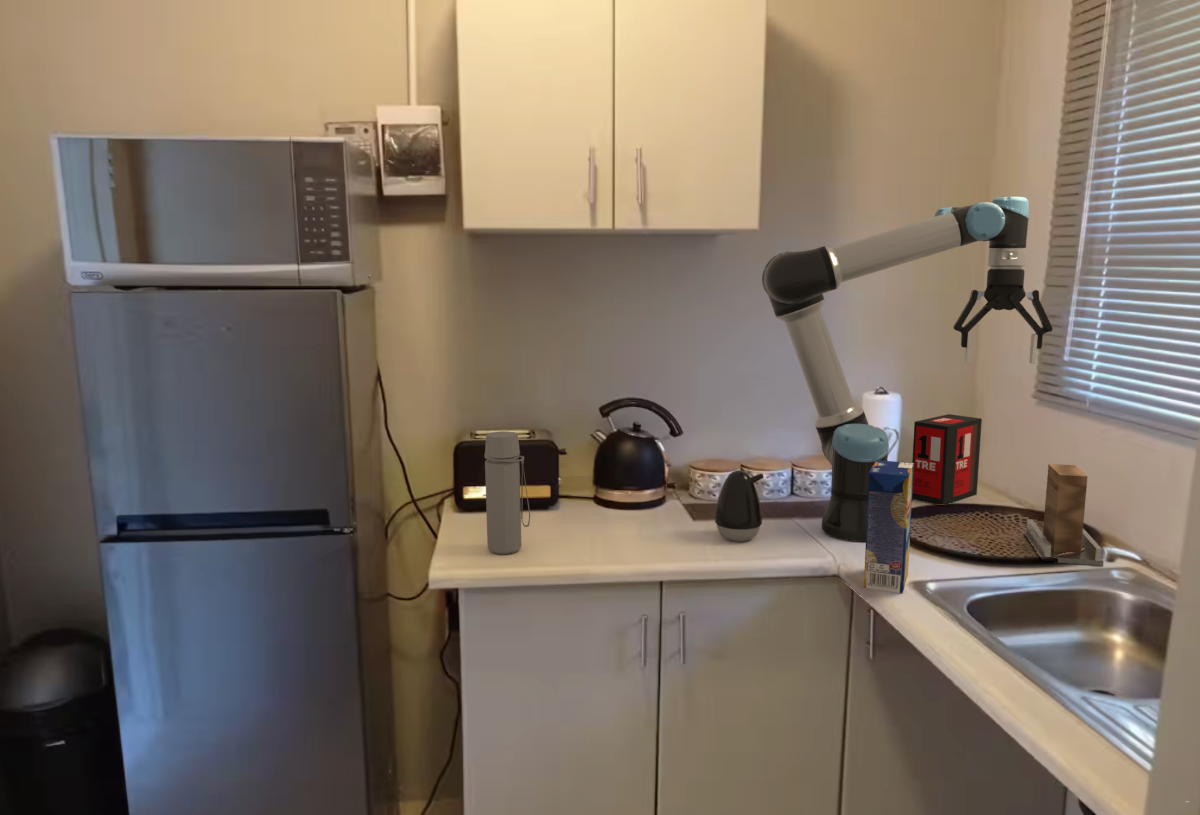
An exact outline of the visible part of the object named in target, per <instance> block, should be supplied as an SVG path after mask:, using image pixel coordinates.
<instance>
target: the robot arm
mask: <svg viewBox="0 0 1200 815" xmlns="http://www.w3.org/2000/svg"><path fill="white" fill-rule="evenodd" d="M1029 204H1030V202H1029V199H1027V197H1024V196H1004V197H1003V196H1002V197H1001V196H1000V197H995V198H993V199H992V201H991V202H988V201H986V202H985V201H980V202H978V203H975V204H970V205H965V206H959V207H958V206H957V207H956V206H955V207H954V206H950V207H941V208H938V209H937V210H936V212H935V215H934V216H933V217H930V218H926V219H924V220H920V221H917V222H914V223H911V224H908V225H904V226H901V227H896V228H894V229H891V230H887V231H884V232H881V233H877V234H874V235H872V236H868V237H866V238H861V239H859V240H856V241H852V242H849V243H845V244H843V245H842V244H841V245H840V246H835V247H833V248H831V247H828V246H827V245H824V246H819V247H817V248H813V249H808V250H807V249H806V250H801V251H800V250H798V251H785V252H782V253H781V252H780V253H779V254H776V255H775V256H773V257H772V258H770V259H769V260H768V261H767V263H766V264H765V266H764V268H763V271H762V276H761V277H762V278H761V282H762V286H763V289H764V291H765V293H766V294H767V296H768V298H769V301H770V303H771V307H772V309H773V312H774V315H775V318H776V319H778V320H780V321H782V322H784V323H785V326H786V330H787V332H788V334H789V337H790V339H791V340H790V341H791V342H792V346H793V348H794V351H795V354H796V356H797V359H798V362H799V365H800V367H801V370H802V373H803V376H804V379H805V381H806V384H807V387H808V390H809V393H810V395H811V398H812V402H813V403H814V407H815V410H816V413H817V415H818V416H817V420H816V422H815V424H814V426H815V429H816V432H817V434H818V437H819V438H818V439H819V440H820V444H821V451H822V453H823V456H824V457H825V458H826V460H827V461H828V462H829V464H830V466H831V486H830V488H831V489H830V490H831V491H830V492H831V493H830V498H829V500H828V504H826V508H825V511H824V514H823V516H822V519H821V530H822V532H824V534H826V535H827V536H830V537H833V538H836V539H839V540H846V541H852V542H865V543H866V526H867V503H868V481H869V471H870V470H871V468H872V466H873V464H874V463H875V461H876V460H882V461H888V455H889V454H888V453H889V450H890V444H889V437H888V435H887V432H886V431H885V430H883V428H880V427H878V426H874V425H871V424H869V420H868V419H867V417H866V413H865V410H864V408H862V407H860V406H858V405H856V404H855V403H854V399H853V396H852V394H851V391H850V388H849V386H848V382H847V380H846V377H845V375H844V371H843V368H842V365H841V362H840V360H839V357H838V354H837V352H836V348H835V346H834V343H833V340H832V337H831V334H830V332H829V329H828V326H827V324H826V321H825V318H824V315H823V311H822V306H823V305H824V303H825V296H824V294H825V293H828V292H831V291H834V290H837V289H838V288H839V287H840V285H841V284H842V283H845V282H848V281H851V280H854V279H857V278H860V277H865V276H867V275H871V274H874V273H877V272H880V271H883V270H887V269H890V268H893V267H897V266H900V265H903V264H906V263H909V262H913V261H917V260H920V259H923V258H926V257H929V256H932V255H935V254H940V253H942V252H946V251H948V250H952V249H955V248H959V247H963V246H967V245H969V244H970V245H971V244H973V243H976V242H988V244H989V245H988V257H987V258H988V260H987V266H988V267H989V268H990V269H988V270H987V273H986V275H987V276H986V287H985V291H982V290H977V289H972V290H971V291H970V296H969V300H968V302H967V303H966V305H965V306H964V308H963V310H962V312H961V313H960V315H959V317H958V318H957V320H956V322H955V323H954V325H953V327H952V328H953V330H955V331H957V332H960V335H961V337H960V345H961V346H960V347H961V348H965V351H964V352H965V353H964V354H965V355H964V362H965V363H967V364H968V363H969V364H970V363H971V354H972V353H971V351H972V336H973V333H970V331H971V330H972V329H974V327H975V326H976V325H977V324H978V323H979V322H980V321H981V320H982V319H983V318H984V317H985V316H986V315H987V314H988V313H989V312H991V310H992V309H993V310H996V311H1001V310H1007V311H1012V310H1016V312H1018V314H1019V315H1020V316H1021V317H1022V318H1023V319H1024V321H1025V322H1026V323H1027V325H1029V327H1031V329H1032V330H1033V331H1034V333H1031V334H1030V335H1031V337H1030V347H1029V348H1030V349H1029V364H1031V365H1036V363H1037V362H1036V361H1037V351H1038V350H1041V349H1042V348H1043V336H1044V334H1046V333H1050V332H1052V331H1053V329H1054V328H1053V326H1052V324H1051V322H1050V320H1049V318H1048V314H1047V313H1046V311H1045V309H1044V307H1043V304H1042V303H1041V300H1040V292H1039V289H1038V290H1037V289H1032V290H1027V291H1025V288H1024V283H1025V270H1024V268H1023V267H1025V266H1026V254H1027V238H1028V228H1029V221H1030V212H1029V211H1030V206H1029ZM982 297H984V298H985V300H986V303H985V304H984V306H983V307H982V308H980V310H979V311H978V312H976V314H974V316H973V317H972V318H971V319H970V320H969V321H968V322H967V323H966V324H965V325H964V323H965V322H966V320H967V319H968V317H969V315H970V314H971V312H972V310H973V308H974V307H975V305H976V303H977V301H979V300H980V299H981V298H982ZM1025 297H1027V299H1028V301H1031V303H1032V304H1031V305H1032V306H1033V308H1034V311H1035V313H1036V314H1037V317H1038V319H1039V321H1040V323H1041V325H1042V327H1041V326H1040V325H1039V324H1038V323H1037V321H1036V320H1035V319H1034V318H1033V317H1032V315H1031V314H1030V313H1029V312H1028V311H1027V309H1025V306H1024V305H1023V304H1022V303H1021V302H1022V301H1023V299H1024V298H1025ZM963 325H964V326H963Z"/></svg>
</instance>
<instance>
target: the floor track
mask: <svg viewBox="0 0 1200 815" xmlns="http://www.w3.org/2000/svg"><path fill="white" fill-rule="evenodd" d="M1026 521H1027V522H1026V524H1027V525H1026V529H1023V534H1024V533H1025V535H1026V536H1027V538H1028V539H1029V540H1030V542H1031V543H1032V544H1033V546H1034V547H1035V548H1036V550H1037V551H1038V553H1039V554H1040V555H1041V556H1042V557H1043V556H1045V557H1051V556H1055V555H1059V554H1062V553H1066V552H1056V551H1053V550H1052V549H1051V544H1050V543H1049V541H1048V540H1047V539H1046V537H1045V536H1044V534H1043V531H1042V530H1041V529H1040V527H1039V525H1037V523H1036V522H1035V520H1034V519H1027V520H1026ZM1025 535H1024V536H1025ZM1027 538H1026V539H1027ZM1082 548H1085V549H1086V550H1085V551H1084V552H1082V553H1080V554H1076V555H1068V556H1063V557H1054V558H1057V559H1058V562H1057V563H1058V564H1059V563H1060V564H1068V565H1069V564H1071V565H1072V564H1073V565H1086V566H1098V567H1104V564H1105V561H1104V560H1103V559H1102V552H1103V548H1102V547H1101V546H1100V545H1099V544H1098V543H1097V541H1096V540H1094V538H1093V537H1092V536H1091V535H1090V534H1089V533H1088V532H1087V530H1085V528H1084V527H1083V534H1082V545H1081V549H1082Z"/></svg>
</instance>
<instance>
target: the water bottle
mask: <svg viewBox="0 0 1200 815" xmlns="http://www.w3.org/2000/svg"><path fill="white" fill-rule="evenodd" d="M519 443H520V442H519V435H518V433H517V432H516V431H507V430H506V431H493V432H488V433H487V434H486V435H485V444H484V445H485V448H484V449H485V450H484V455H483V457H484V458H485V459H486V460H484V473H485V474H484V475H485V476H484V478H485V501H486V502H485V504H486V505H485V506H486V507H485V508H486V510H485V511H486V540H487V542H486V543H487V549H488V550H489V551H490V552H491V553H492V552H493V553H492V554H495V553H497V554H496V555H511V554H510V553H512V554H514V553H516V552H519V551H520V550H521V547H522V526H523V527H524V528H526V527H527V528H528V527H529V526H530V523H531V521H530V520H531V511H530V510H531V509H530V504H529V498H528V490H527V481H526V477H525V474H524V473H525V468H524V462H525V456H524V455H520V454H521V451H520V450H521V449H520V444H519ZM519 458H520V459H519ZM520 464H521V470H520ZM520 471H521V473H520ZM523 478H524V479H523ZM523 482H524V483H523ZM523 484H524V485H523ZM523 486H525V494H526V501H527V508H528V522H527V524H525V523H524V521H523V518H524V517H523V513H524V512H523V510H524V509H523V502H524V501H523V496H524V495H523Z"/></svg>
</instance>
